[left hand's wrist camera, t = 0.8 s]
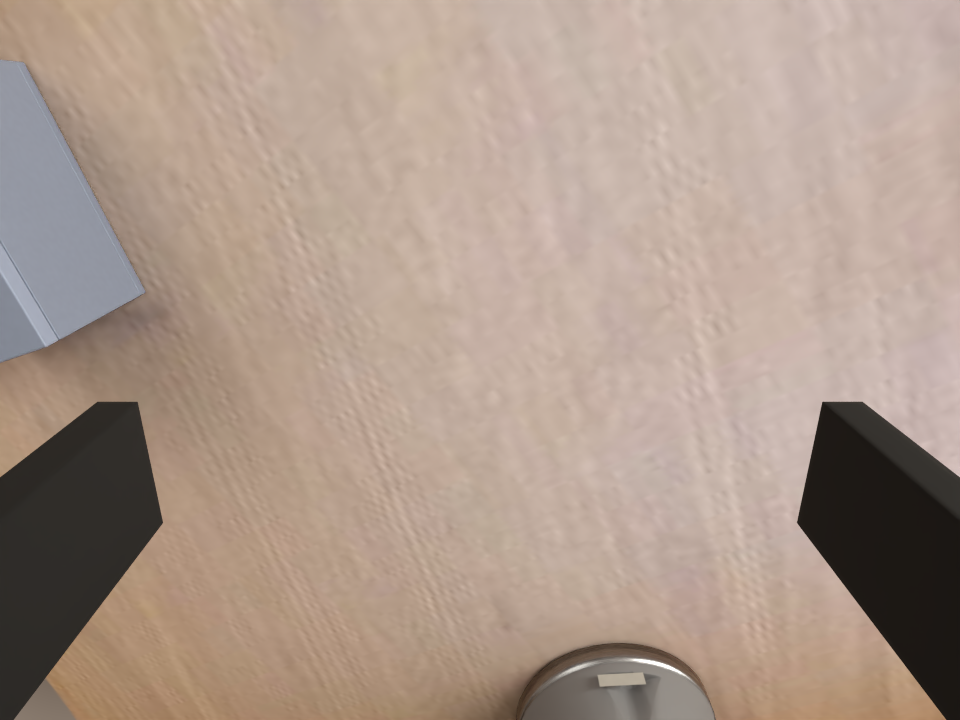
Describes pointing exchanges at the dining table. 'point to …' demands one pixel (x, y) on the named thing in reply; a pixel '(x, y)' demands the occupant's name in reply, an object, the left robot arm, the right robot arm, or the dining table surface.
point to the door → (19, 315)
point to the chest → (54, 215)
